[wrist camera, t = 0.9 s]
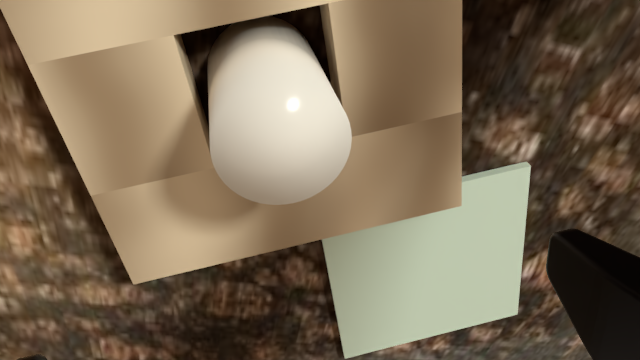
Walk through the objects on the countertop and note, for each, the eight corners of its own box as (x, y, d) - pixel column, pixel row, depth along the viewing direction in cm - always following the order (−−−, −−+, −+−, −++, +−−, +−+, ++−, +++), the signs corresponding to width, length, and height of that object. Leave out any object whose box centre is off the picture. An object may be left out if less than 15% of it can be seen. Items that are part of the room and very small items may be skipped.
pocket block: (436, -188, 16) (462, -191, 15) (443, 180, 24) (461, 205, 23) (-24, -105, 15) (-51, -98, 14) (138, 252, 23) (133, 284, 22)
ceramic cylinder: (305, 5, 19) (342, 64, 14) (321, 106, 21) (358, 187, 16) (194, 28, 19) (192, 96, 14) (222, 128, 21) (229, 218, 16)
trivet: (526, 161, 25) (530, 165, 24) (513, 309, 30) (517, 314, 30) (316, 210, 24) (317, 216, 24) (343, 352, 29) (344, 358, 29)
